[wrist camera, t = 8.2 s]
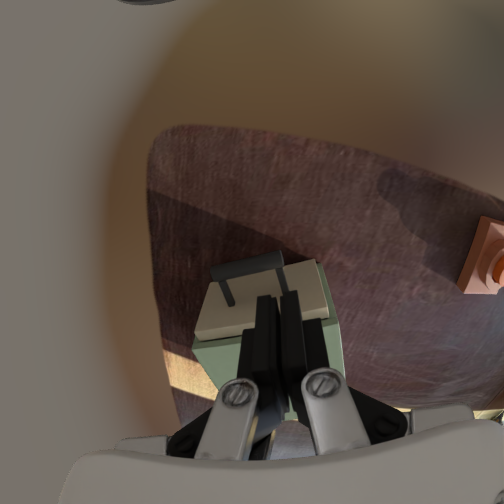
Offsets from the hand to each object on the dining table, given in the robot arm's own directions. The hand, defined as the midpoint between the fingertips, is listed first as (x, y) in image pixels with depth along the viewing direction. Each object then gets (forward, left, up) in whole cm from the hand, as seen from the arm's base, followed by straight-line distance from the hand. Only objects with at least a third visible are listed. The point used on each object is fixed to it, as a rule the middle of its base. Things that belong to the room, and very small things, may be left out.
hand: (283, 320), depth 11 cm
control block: (+23, +19, -17) cm, 34 cm away
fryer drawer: (+9, -8, -16) cm, 20 cm away
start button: (+23, +19, -13) cm, 32 cm away
